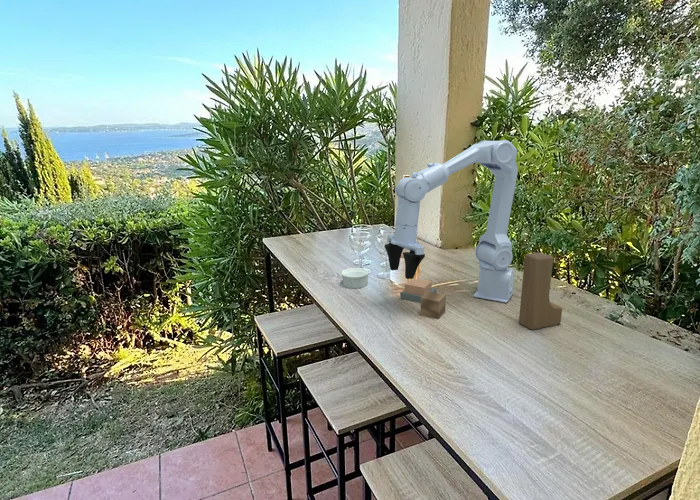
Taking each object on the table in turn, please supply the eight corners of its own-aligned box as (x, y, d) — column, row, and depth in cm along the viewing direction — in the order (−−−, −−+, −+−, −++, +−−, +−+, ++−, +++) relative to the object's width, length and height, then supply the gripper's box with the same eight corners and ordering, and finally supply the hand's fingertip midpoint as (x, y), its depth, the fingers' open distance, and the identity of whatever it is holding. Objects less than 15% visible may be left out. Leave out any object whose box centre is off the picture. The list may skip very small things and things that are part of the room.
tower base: (436, 296, 118) (436, 288, 118) (426, 305, 112) (426, 297, 111) (411, 291, 123) (411, 284, 122) (400, 300, 116) (400, 292, 116)
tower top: (431, 289, 117) (431, 281, 117) (424, 295, 113) (424, 287, 112) (412, 285, 121) (412, 278, 120) (404, 292, 116) (404, 284, 115)
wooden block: (547, 317, 102) (554, 249, 97) (561, 324, 97) (569, 254, 93) (517, 322, 99) (524, 253, 94) (530, 330, 95) (538, 258, 90)
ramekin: (358, 291, 123) (358, 278, 122) (336, 286, 128) (335, 273, 127) (374, 283, 130) (374, 270, 128) (352, 278, 135) (352, 266, 134)
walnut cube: (445, 312, 106) (445, 295, 105) (438, 319, 102) (439, 301, 101) (427, 308, 109) (428, 291, 108) (420, 315, 105) (420, 297, 104)
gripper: (379, 219, 108) (375, 267, 111) (409, 230, 95) (403, 283, 99) (401, 219, 111) (396, 265, 114) (433, 229, 98) (426, 281, 102)
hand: (401, 273), depth 107 cm, fingers open, 7 cm apart
